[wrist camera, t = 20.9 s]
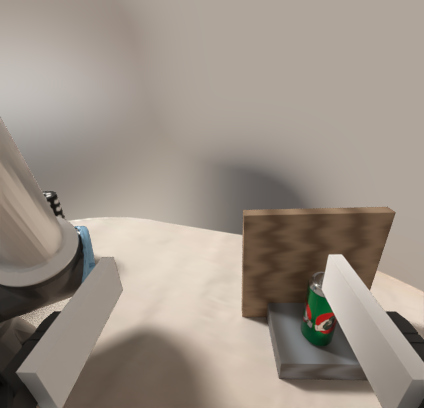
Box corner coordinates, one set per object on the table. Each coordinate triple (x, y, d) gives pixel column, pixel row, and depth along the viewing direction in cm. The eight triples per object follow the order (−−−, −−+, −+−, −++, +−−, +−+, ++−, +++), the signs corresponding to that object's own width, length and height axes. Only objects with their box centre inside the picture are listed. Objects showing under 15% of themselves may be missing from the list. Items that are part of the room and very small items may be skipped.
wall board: (248, 377, 38) (252, 260, 27) (241, 308, 50) (243, 210, 40) (400, 380, 36) (465, 258, 26) (355, 308, 48) (387, 206, 38)
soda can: (336, 334, 39) (351, 281, 34) (323, 355, 36) (337, 300, 31) (308, 316, 43) (317, 265, 38) (294, 333, 40) (302, 281, 35)
